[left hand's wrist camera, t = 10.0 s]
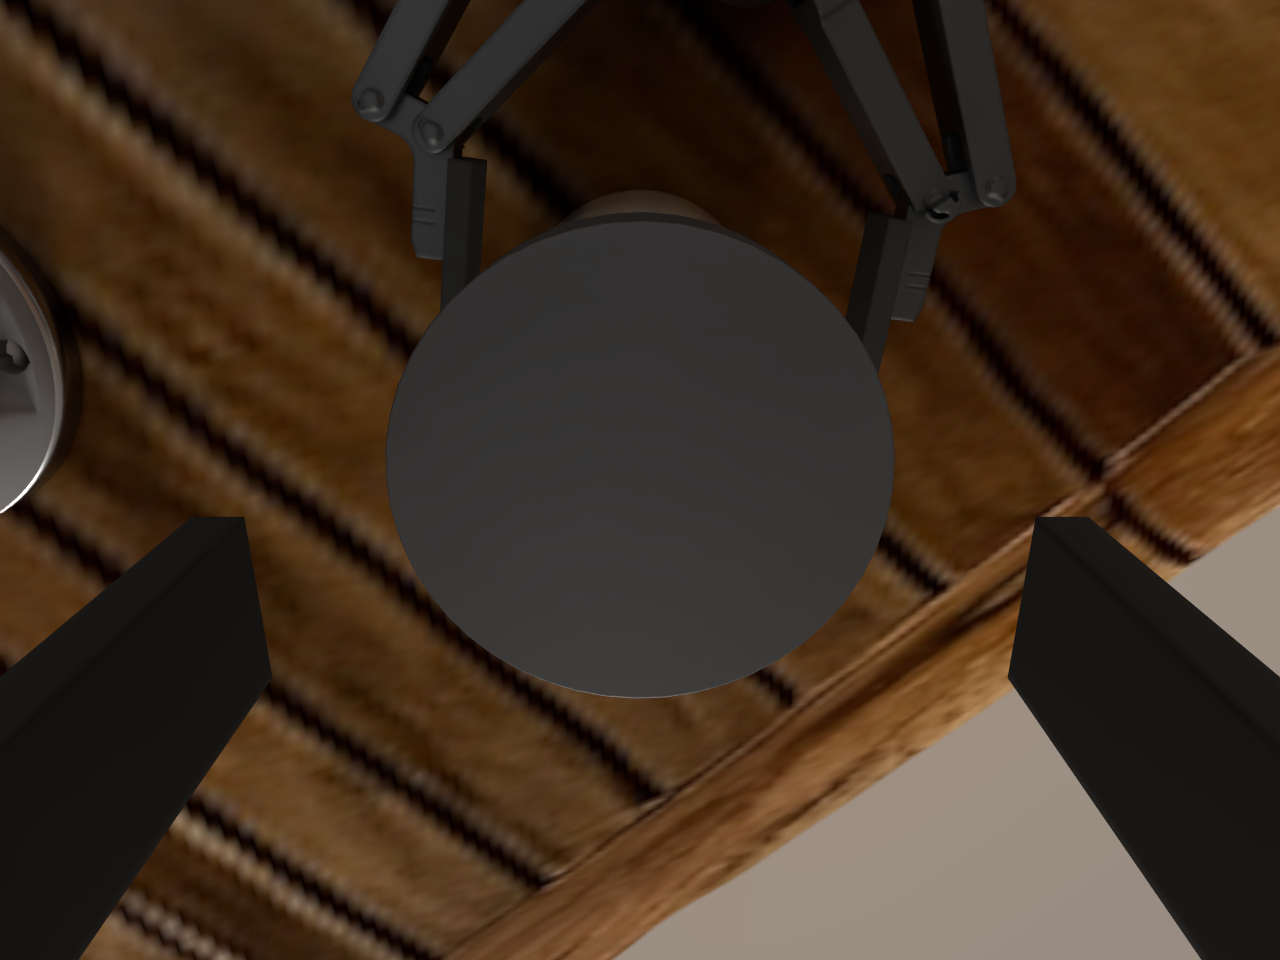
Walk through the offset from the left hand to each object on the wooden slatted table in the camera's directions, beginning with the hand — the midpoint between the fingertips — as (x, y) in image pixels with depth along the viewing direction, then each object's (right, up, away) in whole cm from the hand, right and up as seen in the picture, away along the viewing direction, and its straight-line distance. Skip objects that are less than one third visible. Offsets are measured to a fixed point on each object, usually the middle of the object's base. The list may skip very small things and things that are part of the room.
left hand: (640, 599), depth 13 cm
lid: (0, +2, +5) cm, 5 cm away
